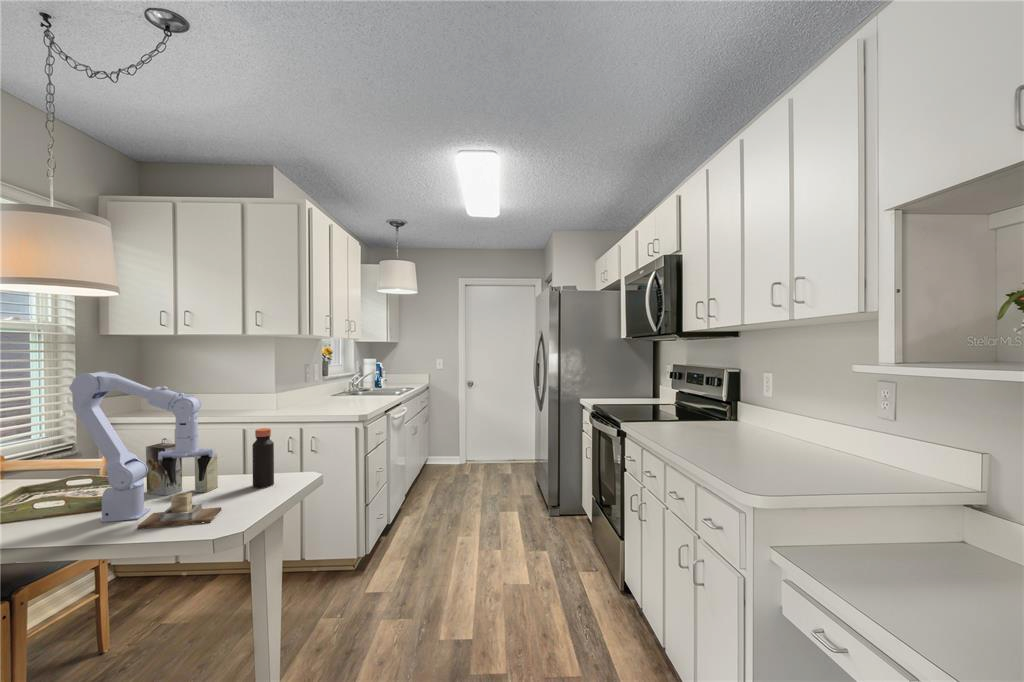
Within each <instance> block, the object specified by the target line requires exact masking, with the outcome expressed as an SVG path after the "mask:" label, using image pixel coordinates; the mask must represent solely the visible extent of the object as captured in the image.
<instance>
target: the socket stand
mask: <svg viewBox="0 0 1024 682" xmlns="http://www.w3.org/2000/svg"><path fill="white" fill-rule="evenodd" d="M220 511H222V507H219V506H218V507H207V508H206V507H205V508H203V504H202V502H201V503H192V510H191V511H190V512H180V513H171V505H170V506H169V507H168V508H167V509H165V511H162V512H161V511H160V512H159V511H158V512H153V513H151V514H150V515H149V516H148V517H146V519H143V520H142V521H141V522H140V523H139V524H138V526H137V529H138V530H141V528H144V529H153V528H152V527H156V528H163V527H162V526H167V527H173V526H172V525H178V526H185V525H184V524H189V525H193V524H192V523H200V524H203V523H202V522H211V521H212V520H213V519H214V520H215V518H216V517H217V516H218V515H219V514H220V513H221V512H220ZM219 512H220V513H219ZM218 513H219V514H218ZM217 514H218V515H217ZM216 515H217V516H216ZM215 516H216V517H215ZM214 517H215V518H214ZM214 520H213V521H214ZM213 521H212V522H213ZM212 522H211V523H212Z"/></svg>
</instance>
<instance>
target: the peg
mask: <svg viewBox="0 0 1024 682" xmlns="http://www.w3.org/2000/svg"><path fill="white" fill-rule="evenodd" d="M192 504H193V492H185V493H184V492H183V493H174V495H173V496H172V497H171V498H170V506H171V513H180V512H190V511H191V510H192Z"/></svg>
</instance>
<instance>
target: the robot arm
mask: <svg viewBox="0 0 1024 682" xmlns="http://www.w3.org/2000/svg"><path fill="white" fill-rule="evenodd" d="M69 390H70V392H71V393H72V394H71V395H72V409H73V411H74V414H76V416H77V417H78V419H79V421H80V422H81V424H82V426H83V427H84V429H85V431H87V433H88V434H89V436H90V438H91V439H92V441H93V442H94V444H95V445H96V447H97V449H98V450H99V452H100V453H101V455H102V457H103V458H104V460H105V461H106V464H105V468H104V470H105V473H106V474H107V481H108V484H109V485H110V487H108V488H106V489H105V490H104V491H103V493H102V497H101V520H100V523H108V522H117V521H129V520H130V521H131V520H138V519H140V518H141V517H143V516H144V515H146V514H147V513H148V512H149V511H151V509H150V508H145V482H144V479H145V477H147V472H148V467H147V465H146V462H144V461H142V460H141V459H139V458H138V456H137V455H136V454H135V453H133V452H130V451H129V450H128V449H127V447H126V446H125V444H124V443H123V441H122V440H121V438H120V436H119V434H118V433H117V432H116V431H115V429H114V427H113V426H112V424H111V423H110V421H109V419H108V418H107V416H106V414H105V413H104V411H103V410H102V408H101V406H100V405H101V403H102V401H103V399H104V397H105V396H106V395H108V393H109V392H112V391H119V392H122V393H125V394H128V395H131V396H136V397H139V398H143V399H145V400H146V402H147V404H148V405H150V406H153V407H156V408H158V409H162V410H165V411H168V412H171V413H172V414H173V415H174V416H175V422H174V423H175V424H174V425H175V444H176V450H174V451H164V452H160V453H158V459H163V460H162V461H161V464H162V466H163V467H164V468H165V470H166V472H167V474H168V477H169V480H170V483H173V482H175V481H176V460H177V458H182V459H183V458H195V457H201V458H199V459H197V461H198V466H199V481H202V480H204V475H205V472H206V469H207V466H208V464H209V462H210V460H211V458H212V457H213V456H214V455H215V453H216V450H215V449H216V448H199V419H198V418H199V417H198V416H199V415H198V414H199V411H200V409H201V406H202V404H201V401H200V399H199V398H198V397H195V396H194V395H191V394H189V395H186V396H185V393H183V392H176V391H173V390H170V389H169V387H167V386H156V387H154V388H152V387H149V386H147V385H144V384H141V383H138V382H137V381H134V380H131V379H129V378H126V377H123V376H121V375H119V374H117V373H110V372H109V371H106V370H99V371H97V372H90V373H88V372H87V373H80V374H77V375H76V376H75V377H74V379H73V380H72V382H71V384H70V386H69Z"/></svg>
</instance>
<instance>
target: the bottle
mask: <svg viewBox="0 0 1024 682" xmlns="http://www.w3.org/2000/svg"><path fill="white" fill-rule="evenodd" d="M271 431H272V430H271V428H269V427H268V428H267V427H266V428H265V427H264V428H257V429H255V433H254V434H255V439H256V440H255V441H254V442H253V443H252V446H251V447H252V449H251V450H252V454H251V455H252V487H253V488H255V487H265V488H269V487H272V486H273V485H274V484H275V460H274V459H275V458H274V457H275V455H274V454H275V450H274V449H275V446H274V445H275V442H274V441H272V439H270V437H271V435H272V433H271ZM271 485H272V486H271ZM268 486H269V487H268Z"/></svg>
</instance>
